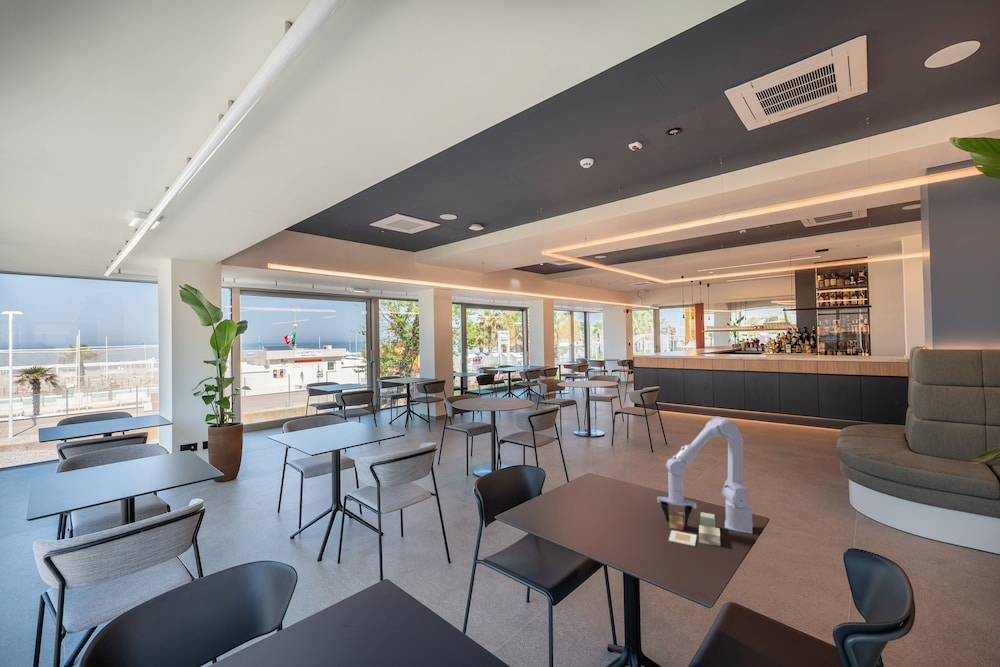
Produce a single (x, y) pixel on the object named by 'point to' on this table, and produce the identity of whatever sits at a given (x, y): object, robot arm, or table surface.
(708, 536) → the base block
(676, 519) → the oak cube
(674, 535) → the card
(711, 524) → the sage cube
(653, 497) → the table surface
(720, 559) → the table surface
